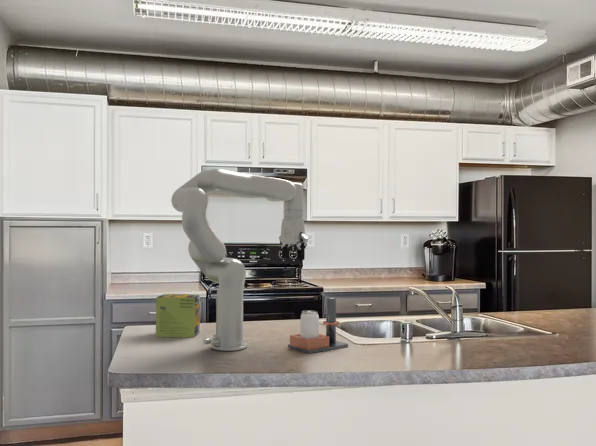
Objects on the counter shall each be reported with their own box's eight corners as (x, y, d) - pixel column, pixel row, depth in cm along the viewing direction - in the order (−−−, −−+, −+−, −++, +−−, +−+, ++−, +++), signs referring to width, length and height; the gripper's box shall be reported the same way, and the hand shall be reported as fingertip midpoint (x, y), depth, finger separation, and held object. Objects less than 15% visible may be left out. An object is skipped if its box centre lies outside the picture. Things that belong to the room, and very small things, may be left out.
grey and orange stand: (309, 353, 188) (309, 303, 188) (288, 347, 197) (288, 299, 197) (348, 346, 199) (348, 299, 199) (326, 340, 208) (326, 295, 208)
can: (319, 343, 198) (319, 310, 198) (318, 347, 192) (318, 313, 192) (301, 343, 199) (301, 310, 199) (299, 347, 192) (299, 313, 192)
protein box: (195, 337, 213) (195, 297, 213) (155, 337, 213) (155, 296, 213) (200, 332, 223) (200, 293, 223) (162, 331, 223) (162, 293, 223)
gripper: (272, 214, 218) (272, 258, 218) (299, 214, 204) (298, 261, 204) (287, 215, 222) (287, 257, 222) (315, 214, 209) (314, 260, 209)
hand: (293, 259), depth 213 cm, fingers open, 9 cm apart
